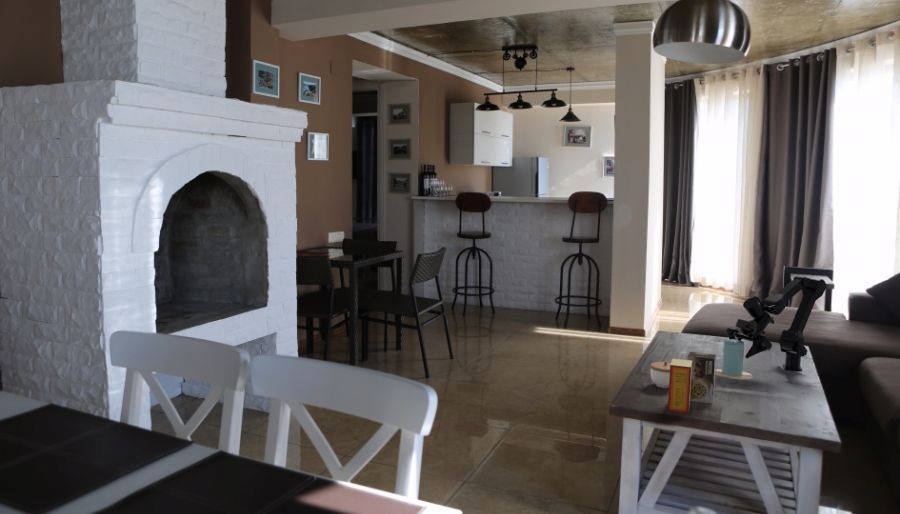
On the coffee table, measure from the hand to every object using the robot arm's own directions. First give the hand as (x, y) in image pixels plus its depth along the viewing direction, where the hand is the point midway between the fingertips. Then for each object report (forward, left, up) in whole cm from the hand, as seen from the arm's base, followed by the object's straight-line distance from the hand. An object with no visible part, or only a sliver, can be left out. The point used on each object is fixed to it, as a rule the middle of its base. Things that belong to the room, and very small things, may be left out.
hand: (736, 354), depth 273 cm
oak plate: (+1, -1, -9) cm, 9 cm away
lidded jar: (+23, -26, -9) cm, 36 cm away
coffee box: (+36, -14, -9) cm, 40 cm away
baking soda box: (+48, -21, -9) cm, 54 cm away
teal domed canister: (+1, -1, -7) cm, 8 cm away
